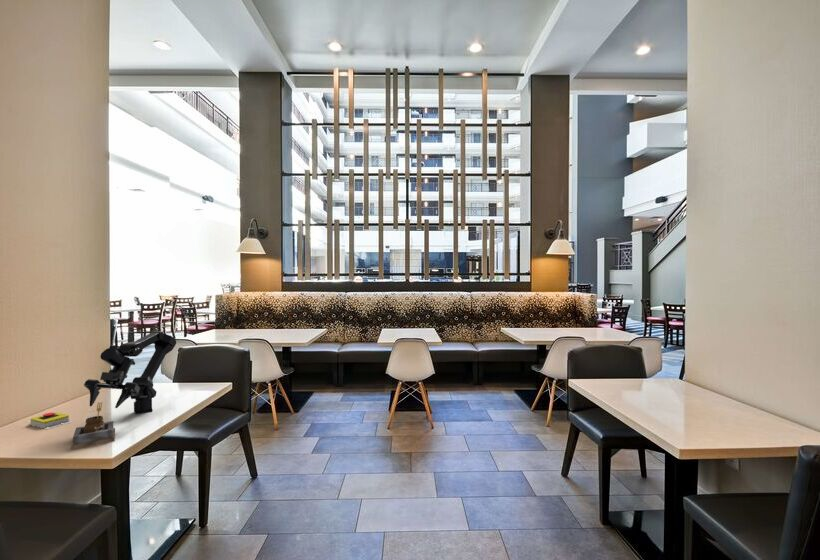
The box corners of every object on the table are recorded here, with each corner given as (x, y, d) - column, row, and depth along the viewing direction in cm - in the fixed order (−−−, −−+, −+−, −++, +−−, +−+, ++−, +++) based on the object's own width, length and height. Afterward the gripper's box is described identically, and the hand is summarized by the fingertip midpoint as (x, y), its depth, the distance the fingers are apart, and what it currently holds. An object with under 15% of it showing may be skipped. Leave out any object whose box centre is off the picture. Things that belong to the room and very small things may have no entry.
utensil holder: (80, 440, 147) (79, 407, 147) (92, 433, 153) (92, 402, 153) (97, 439, 147) (96, 407, 147) (108, 432, 153) (108, 401, 153)
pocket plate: (115, 430, 158) (114, 420, 158) (114, 440, 148) (114, 429, 148) (74, 438, 151) (74, 427, 151) (71, 449, 141) (71, 437, 141)
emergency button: (54, 408, 176) (73, 413, 170) (54, 418, 176) (73, 423, 170) (27, 415, 167) (46, 420, 161) (27, 425, 167) (46, 430, 161)
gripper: (87, 360, 160) (67, 398, 151) (138, 364, 164) (122, 401, 155) (98, 371, 169) (80, 407, 160) (146, 375, 173) (131, 411, 163)
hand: (103, 407), depth 159 cm, fingers open, 9 cm apart
